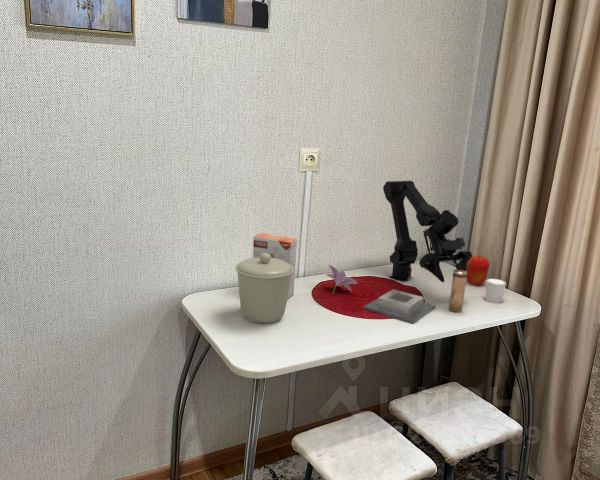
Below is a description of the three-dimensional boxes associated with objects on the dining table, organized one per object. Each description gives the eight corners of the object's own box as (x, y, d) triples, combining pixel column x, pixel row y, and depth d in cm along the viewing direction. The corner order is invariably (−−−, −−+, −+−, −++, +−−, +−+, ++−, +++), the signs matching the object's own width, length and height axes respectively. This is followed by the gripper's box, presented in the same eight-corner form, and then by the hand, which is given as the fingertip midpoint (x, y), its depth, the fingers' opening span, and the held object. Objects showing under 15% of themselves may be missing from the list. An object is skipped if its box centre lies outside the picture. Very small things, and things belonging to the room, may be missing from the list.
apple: (468, 278, 231) (472, 250, 228) (489, 283, 226) (493, 254, 223) (461, 283, 224) (465, 254, 221) (482, 288, 219) (486, 259, 216)
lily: (357, 300, 203) (364, 274, 205) (330, 290, 198) (337, 264, 200) (339, 299, 214) (346, 274, 216) (313, 289, 209) (320, 264, 211)
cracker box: (250, 293, 201) (252, 235, 196) (258, 288, 207) (260, 231, 201) (287, 300, 196) (290, 241, 191) (294, 295, 202) (297, 237, 196)
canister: (271, 334, 170) (274, 266, 164) (222, 319, 178) (223, 254, 173) (301, 314, 185) (305, 252, 180) (254, 302, 194) (256, 241, 188)
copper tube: (446, 310, 196) (451, 271, 192) (451, 306, 200) (456, 268, 196) (459, 313, 194) (464, 274, 190) (463, 309, 197) (469, 271, 194)
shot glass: (500, 297, 212) (503, 279, 210) (505, 303, 205) (508, 285, 203) (481, 295, 212) (484, 277, 211) (485, 302, 206) (488, 283, 204)
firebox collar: (363, 309, 193) (364, 298, 192) (388, 295, 207) (389, 284, 206) (413, 323, 183) (414, 312, 182) (435, 308, 197) (436, 297, 196)
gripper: (428, 230, 193) (444, 272, 186) (472, 228, 200) (489, 267, 193) (412, 247, 202) (427, 287, 195) (455, 244, 209) (471, 282, 202)
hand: (454, 280), depth 196 cm, fingers open, 9 cm apart
